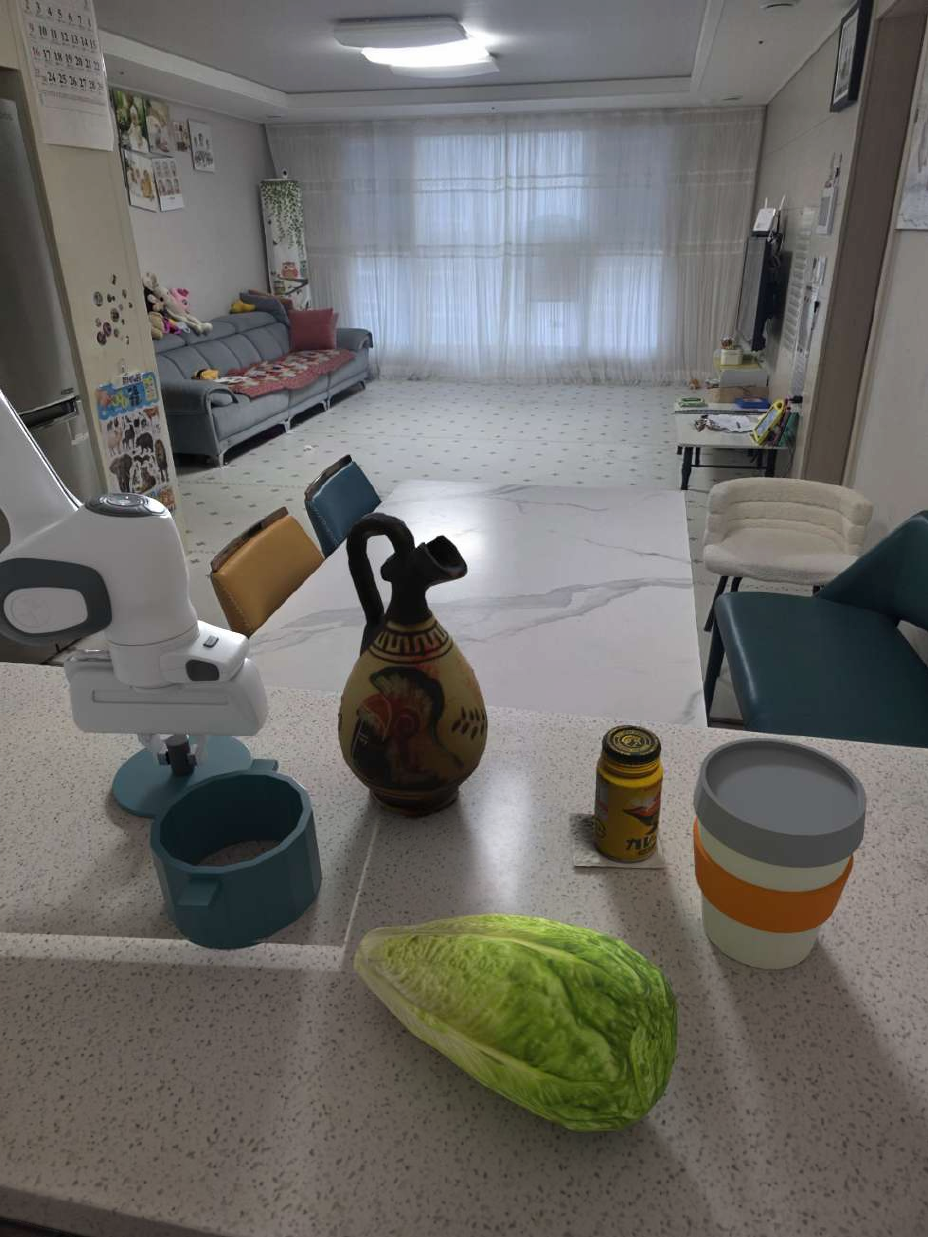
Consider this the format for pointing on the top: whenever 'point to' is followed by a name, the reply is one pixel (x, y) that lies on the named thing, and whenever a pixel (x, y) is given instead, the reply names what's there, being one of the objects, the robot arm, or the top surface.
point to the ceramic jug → (409, 679)
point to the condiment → (623, 804)
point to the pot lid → (174, 772)
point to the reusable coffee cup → (773, 846)
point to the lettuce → (533, 1011)
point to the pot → (247, 891)
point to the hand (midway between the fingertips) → (182, 762)
